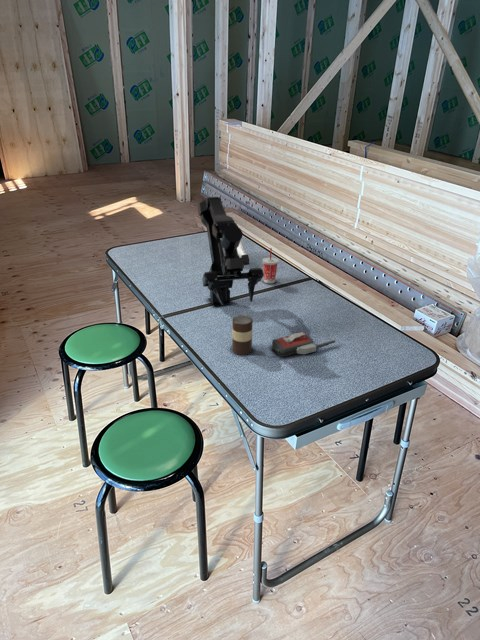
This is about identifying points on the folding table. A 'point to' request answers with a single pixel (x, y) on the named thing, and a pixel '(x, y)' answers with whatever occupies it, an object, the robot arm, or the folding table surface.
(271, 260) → the beverage cup
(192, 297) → the folding table surface
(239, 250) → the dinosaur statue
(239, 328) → the coffee can
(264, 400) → the folding table surface
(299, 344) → the walkie-talkie
